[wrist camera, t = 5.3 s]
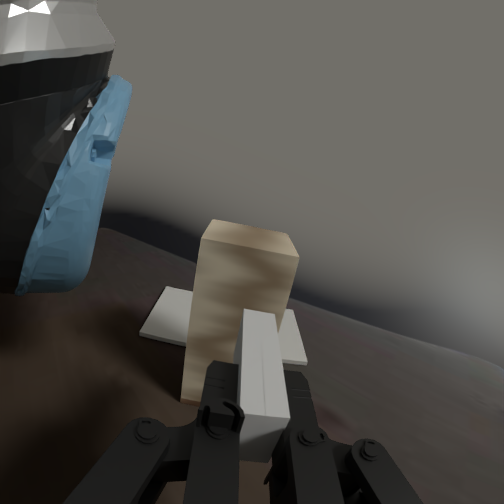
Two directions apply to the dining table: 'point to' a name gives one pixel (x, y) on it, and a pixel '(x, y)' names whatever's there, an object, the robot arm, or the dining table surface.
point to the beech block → (233, 293)
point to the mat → (177, 322)
